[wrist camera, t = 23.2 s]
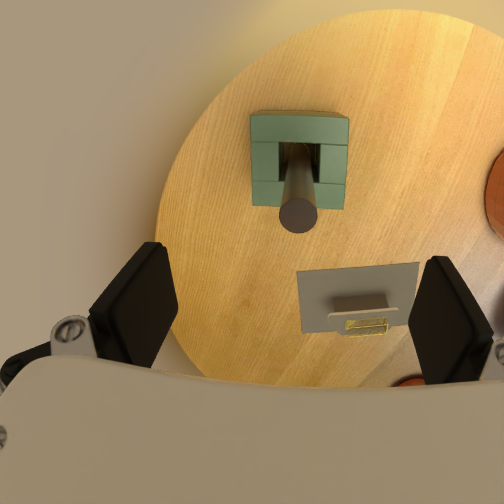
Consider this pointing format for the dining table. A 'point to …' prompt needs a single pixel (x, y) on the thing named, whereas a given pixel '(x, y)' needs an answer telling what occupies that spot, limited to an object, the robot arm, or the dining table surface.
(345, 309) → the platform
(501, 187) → the mixing bowl
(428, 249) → the dining table surface
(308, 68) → the dining table surface
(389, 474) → the robot arm
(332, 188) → the stand
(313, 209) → the stick
